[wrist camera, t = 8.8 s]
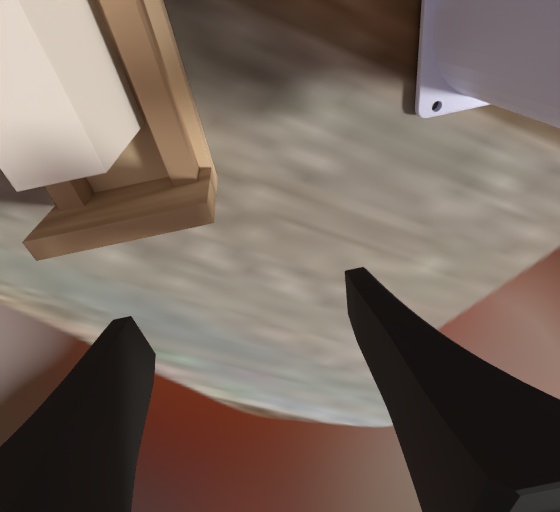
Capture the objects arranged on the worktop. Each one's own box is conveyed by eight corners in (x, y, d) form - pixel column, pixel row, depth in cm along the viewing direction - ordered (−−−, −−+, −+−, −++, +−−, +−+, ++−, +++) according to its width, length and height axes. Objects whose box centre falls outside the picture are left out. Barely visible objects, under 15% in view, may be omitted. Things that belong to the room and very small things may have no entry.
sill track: (-105, -93, 12) (-279, -147, 8) (119, -143, 12) (60, -225, 8) (77, 207, 19) (36, 260, 15) (217, 177, 19) (213, 222, 15)
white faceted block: (60, -84, 12) (-60, -151, 7) (144, 123, 16) (106, 172, 11) (-31, -63, 12) (-215, -116, 7) (77, 138, 16) (9, 193, 11)
